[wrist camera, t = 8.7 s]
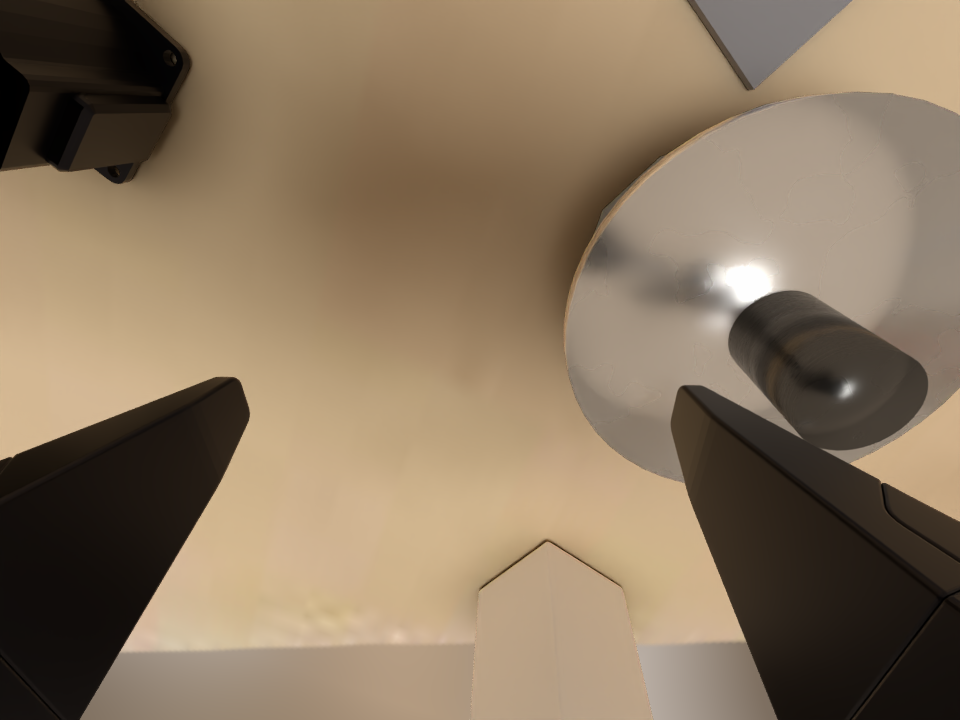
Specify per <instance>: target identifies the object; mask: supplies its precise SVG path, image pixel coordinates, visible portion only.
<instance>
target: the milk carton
mask: <svg viewBox="0 0 960 720" xmlns="http://www.w3.org/2000/svg"><path fill="white" fill-rule="evenodd" d="M472 684H473V685H472V699H471V714H470V720H653V716H652V712H651V708H650V703H649V699H648V695H647V691H646V686H645V682H644V678H643V673H642V669H641V665H640V660H639V656H638V652H637V647H636V643H635V639H634V635H633V630H632V626H631V622H630V617H629V613H628V609H627V604H626V600H625V596H624V592H623V589H622V588H621V587H620V586H618V585H617V584H615V583H614V582H612V581H610V580H609V579H607V578H606V577H604V576H603V575H601V574H599V573H598V572H596V571H595V570H593V569H591V568H590V567H588V566H587V565H585V564H584V563H582V562H580V561H579V560H577V559H576V558H574V557H573V556H571V555H569V554H568V553H566V552H565V551H563V550H561V549H560V548H558V547H557V546H555V545H553V544H552V543H550V542H546V543H544V544H543V545H541V546H540V547H539V548H537V549H536V550H535V551H533V552H532V553H530V554H529V555H528V556H526V557H525V558H523V559H522V560H521V561H519V562H518V563H517V564H515V565H514V566H512V567H511V568H510V569H508V570H507V571H506V572H504V573H503V574H501V575H500V576H499V577H497V578H496V579H495V580H493V581H492V582H490V583H489V584H488V585H486V586H485V587H484V588H482V589H481V590H480V591H479V594H478V609H477V624H476V639H475V655H474V669H473V683H472Z"/></svg>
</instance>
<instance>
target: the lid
mask: <svg viewBox="0 0 960 720" xmlns="http://www.w3.org/2000/svg"><path fill="white" fill-rule="evenodd" d="M564 350H565V357H566V364H567V369H568V374H569V378H570V381H571V385H572V388H573V391H574V394H575V398H576V400H577V402H578V404H579V406H580V408H581V410H582V412H583V414H584V416H585V417H586V419H587V420H588V421H589V423H590V424H591V426H592V427H593V428H594V430H595V431H596V432H597V433H598V435H599V436H600V437H601V438H602V439H603V440H604V441H605V442H606V443H607V444H608V445H609V446H610V447H611V448H613V449H614V450H615V451H617V452H618V453H619V454H620V455H622V456H623V457H624V458H626V459H627V460H629V461H631V462H633V463H634V464H636V465H638V466H639V467H641V468H643V469H645V470H648V471H650V472H652V473H655V474H657V475H659V476H662V477H665V478H669V479H672V480H675V481H679V482H682V483H685V482H684V478H683V474H682V470H681V466H680V463H679V459H678V455H677V451H676V447H675V444H674V440H673V436H672V432H671V416H672V412H673V408H674V403H675V399H676V395H677V391H678V389H679V387H681V386H682V385H702V386H705V387H706V388H708V389H710V390H712V391H714V392H716V393H718V394H720V395H721V396H723V397H725V398H727V399H729V400H731V401H733V402H735V403H736V404H738V405H740V406H742V407H744V408H746V409H748V410H750V411H751V412H753V413H755V414H757V415H759V416H761V417H763V418H764V419H766V420H768V421H770V422H772V423H774V424H776V425H778V426H779V427H781V428H783V429H785V430H787V431H789V432H791V433H793V434H794V435H796V436H798V437H800V438H802V439H804V440H806V441H808V442H809V443H811V444H813V445H815V446H817V447H819V448H821V449H823V450H824V451H826V452H828V453H830V454H832V455H834V456H836V457H837V458H839V459H841V460H843V461H845V462H847V463H851V462H853V461H855V460H858V459H860V458H862V457H864V456H866V455H868V454H870V453H873V452H874V451H876V450H878V449H880V448H881V447H883V446H885V445H887V444H888V443H890V442H892V441H894V440H895V439H897V438H899V437H900V436H902V435H903V434H905V433H906V432H907V431H909V430H910V429H912V428H913V427H915V426H916V425H918V424H919V423H920V422H922V421H923V420H924V419H925V418H927V417H928V416H929V415H930V414H932V413H933V412H934V411H935V410H936V409H938V408H939V407H940V406H941V405H943V404H944V403H945V402H946V401H947V400H948V399H949V398H950V397H951V396H952V395H953V394H954V393H955V392H956V391H957V390H958V389H959V388H960V115H958V114H957V113H955V112H953V111H950V110H948V109H945V108H943V107H940V106H938V105H935V104H933V103H930V102H928V101H925V100H920V99H916V98H911V97H906V96H901V95H897V94H891V93H870V92H842V93H829V94H818V95H808V96H800V97H795V98H791V99H787V100H782V101H778V102H774V103H769V104H765V105H763V106H760V107H757V108H754V109H752V110H749V111H746V112H743V113H741V114H738V115H735V116H733V117H730V118H728V119H726V120H724V121H722V122H720V123H718V124H716V125H714V126H712V127H710V128H708V129H706V130H705V131H703V132H701V133H699V134H697V135H696V136H694V137H693V138H691V139H690V140H688V141H686V142H685V143H683V144H682V145H680V146H679V147H677V148H676V149H674V150H673V151H671V152H670V153H668V154H667V155H666V156H665V157H664V158H662V159H661V160H660V161H659V162H658V163H656V164H655V165H654V166H653V167H651V168H650V169H649V170H648V171H647V172H645V173H644V174H643V175H642V176H641V177H640V178H639V179H638V180H637V181H636V182H635V183H634V184H633V185H632V186H631V187H630V188H629V189H628V191H627V192H626V193H625V194H624V195H623V196H622V197H621V198H620V199H619V200H618V201H617V203H616V204H615V205H614V207H613V208H612V209H611V211H610V212H609V213H608V214H607V216H606V217H605V218H604V220H603V221H602V222H601V224H600V225H599V227H598V229H597V230H596V232H595V234H594V235H593V237H592V239H591V241H590V242H589V244H588V246H587V247H586V249H585V251H584V254H583V256H582V258H581V260H580V263H579V265H578V267H577V270H576V272H575V274H574V277H573V281H572V284H571V288H570V291H569V295H568V298H567V304H566V311H565V318H564Z"/></svg>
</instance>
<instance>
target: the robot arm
mask: <svg viewBox="0 0 960 720" xmlns="http://www.w3.org/2000/svg"><path fill="white" fill-rule="evenodd" d="M172 52H173V53H174V54H175V56H176V59H177V62H176V65H175V66H174V65H173V64H172V62H171V60H170V54H171V53H172ZM189 67H190V61H189V57H188V55H187V53H186V52H185V50H184V49H183V48H182V47H181V46H180V45H179V44H178V43H177V42H175V41H174V40H173V39H172V38H171V37H170V36H169V35H168V34H167V33H166V32H164V31H163V30H162V29H161V28H160V27H159V26H158V25H157V24H156V23H155V22H154V21H152V20H151V19H150V18H149V17H148V16H147V15H146V14H145V13H144V12H143V11H141V10H140V9H139V8H138V7H137V6H136V5H135V4H134V3H133V2H132V1H131V0H0V171H7V170H15V169H23V168H31V167H39V166H47V165H51V166H53V167H54V168H55V169H57V170H58V171H60V172H72V171H79V170H86V169H93V168H94V169H95V170H97V171H98V172H99V173H100V174H102V175H103V176H104V177H106V178H107V179H108V180H110V181H111V182H113V183H116V184H121V183H126V182H129V181H130V180H131V179H132V178H133V176H134V174H135V172H136V170H137V168H138V166H139V164H140V162H141V161H146V160H148V158H149V156H150V154H151V152H152V150H153V149H154V147H155V145H156V143H157V141H158V139H159V137H160V135H161V133H162V132H163V130H164V128H165V126H166V124H167V122H168V120H169V118H170V116H171V114H172V113H171V106H170V105H171V103H172V101H173V99H174V97H175V95H176V93H177V91H178V90H179V88H180V86H181V84H182V82H183V80H184V78H185V76H186V74H187V72H188V70H189ZM115 166H116V167H117V168H118V169H119V171H120V175H118V174H117V173H116V171H115ZM249 417H250V410H249V407H248V403H247V400H246V397H245V394H244V391H243V388H242V385H241V382H240V381H239V380H238V379H237V378H235V377H215V378H212V379H209V380H207V381H204V382H202V383H199V384H196V385H194V386H191V387H189V388H186V389H184V390H181V391H178V392H176V393H173V394H171V395H168V396H166V397H163V398H160V399H158V400H155V401H153V402H150V403H148V404H145V405H142V406H140V407H137V408H135V409H132V410H129V411H127V412H124V413H122V414H119V415H117V416H114V417H111V418H109V419H106V420H104V421H101V422H99V423H96V424H93V425H91V426H88V427H86V428H83V429H80V430H78V431H75V432H73V433H70V434H68V435H65V436H62V437H60V438H57V439H55V440H52V441H50V442H47V443H44V444H42V445H39V446H37V447H34V448H32V449H29V450H26V451H24V452H21V453H19V454H16V455H15V456H14V457H13V458H12V457H8V458H6V459H3V460H0V720H80V718H81V716H82V715H83V713H84V711H85V710H86V708H87V706H88V705H89V703H90V701H91V700H92V698H93V696H94V695H95V693H96V691H97V689H98V688H99V686H100V684H101V683H102V681H103V679H104V678H105V676H106V674H107V673H108V671H109V669H110V668H111V666H112V664H113V663H114V661H115V659H116V657H117V656H118V654H119V652H120V651H121V649H122V647H123V646H124V644H125V642H126V641H127V639H128V637H129V636H130V634H131V632H132V631H133V629H134V627H135V626H136V624H137V622H138V620H139V619H140V617H141V615H142V614H143V612H144V610H145V609H146V607H147V605H148V604H149V602H150V600H151V599H152V597H153V595H154V594H155V592H156V590H157V588H158V587H159V585H160V583H161V582H162V580H163V578H164V577H165V575H166V573H167V572H168V570H169V568H170V567H171V565H172V563H173V562H174V560H175V558H176V556H177V555H178V553H179V551H180V550H181V548H182V546H183V545H184V543H185V541H186V540H187V538H188V536H189V535H190V533H191V531H192V530H193V528H194V526H195V524H196V523H197V521H198V519H199V518H200V516H201V514H202V513H203V511H204V509H205V508H206V506H207V504H208V503H209V501H210V499H211V498H212V496H213V494H214V493H215V491H216V489H217V487H218V485H219V484H220V482H221V480H222V478H223V476H224V474H225V472H226V470H227V467H228V465H229V463H230V461H231V459H232V456H233V454H234V452H235V450H236V448H237V446H238V443H239V441H240V439H241V437H242V435H243V432H244V430H245V428H246V426H247V424H248V421H249ZM671 432H672V436H673V440H674V444H675V447H676V451H677V455H678V459H679V463H680V466H681V470H682V474H683V478H684V482H685V485H686V489H687V492H688V496H689V498H690V501H691V504H692V507H693V509H694V512H695V514H696V517H697V519H698V522H699V524H700V527H701V529H702V532H703V534H704V537H705V539H706V542H707V544H708V547H709V549H710V552H711V554H712V557H713V559H714V562H715V564H716V567H717V569H718V572H719V574H720V577H721V579H722V582H723V584H724V587H725V589H726V592H727V594H728V597H729V599H730V602H731V604H732V607H733V609H734V612H735V614H736V617H737V619H738V622H739V624H740V627H741V629H742V632H743V634H744V637H745V639H746V642H747V644H748V647H749V649H750V652H751V654H752V656H753V659H754V662H755V664H756V667H757V669H758V672H759V674H760V677H761V679H762V682H763V684H764V687H765V689H766V692H767V694H768V697H769V699H770V702H771V704H772V707H773V709H774V712H775V714H776V717H777V719H778V720H960V522H959V521H957V520H955V519H953V518H951V517H949V516H947V515H945V514H943V513H942V512H940V511H938V510H936V509H934V508H932V507H930V506H928V505H926V504H924V503H922V502H920V501H918V500H916V499H915V498H913V497H911V496H909V495H907V494H905V493H903V492H901V491H899V490H898V489H896V488H894V487H892V486H890V485H888V484H886V483H882V484H881V481H880V480H879V479H877V478H875V477H873V476H871V475H869V474H867V473H866V472H864V471H862V470H860V469H858V468H856V467H854V466H852V465H851V464H849V463H847V462H845V461H843V460H841V459H839V458H837V457H836V456H834V455H832V454H830V453H828V452H826V451H824V450H823V449H821V448H819V447H817V446H815V445H813V444H811V443H809V442H808V441H806V440H804V439H802V438H800V437H798V436H796V435H794V434H793V433H791V432H789V431H787V430H785V429H783V428H781V427H779V426H778V425H776V424H774V423H772V422H770V421H768V420H766V419H764V418H763V417H761V416H759V415H757V414H755V413H753V412H751V411H750V410H748V409H746V408H744V407H742V406H740V405H738V404H736V403H735V402H733V401H731V400H729V399H727V398H725V397H723V396H721V395H720V394H718V393H716V392H714V391H712V390H710V389H708V388H706V387H705V386H702V385H682V386H681V387H679V389H678V391H677V395H676V399H675V403H674V408H673V412H672V416H671Z"/></svg>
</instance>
